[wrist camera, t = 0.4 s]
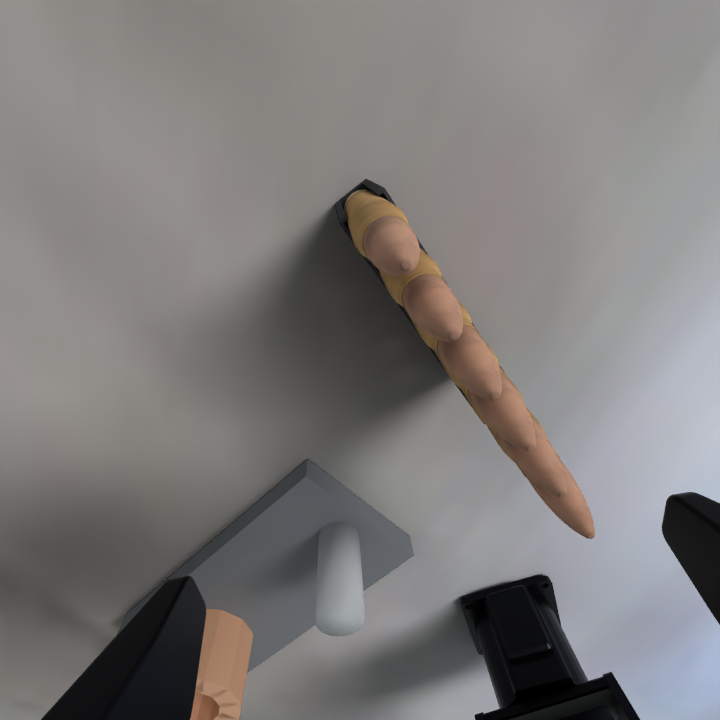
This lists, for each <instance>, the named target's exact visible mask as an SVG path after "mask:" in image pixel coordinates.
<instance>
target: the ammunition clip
mask: <svg viewBox="0 0 720 720" xmlns="http://www.w3.org/2000/svg"><path fill="white" fill-rule="evenodd" d="M335 207H336V212H337V216H338V220H339V223H340V225H341V227H342V228H343V229H344V231H345V232H346V234H347V235H348V236H349V238H350V239H351V240H352V242H353V243H354V245H355V246H356V248H357V249H358V251H359V252H360V253H361V254H362V256H363V257H364V258H365V260H366V261H367V263H368V264H369V265H370V267H371V268H372V270H373V271H374V272H375V274H376V275H377V276H378V278H379V279H380V281H381V282H382V283H383V285H384V286H385V288H386V289H387V290H388V292H389V293H390V295H391V296H392V298H393V299H394V300H395V302H396V303H397V304H398V306H399V307H400V308H401V310H402V311H403V313H404V314H405V315H406V317H407V318H408V319H409V321H410V322H411V324H412V325H413V326H414V328H415V329H416V331H417V332H418V333H419V335H420V336H421V338H422V339H423V341H424V342H425V343H426V345H427V346H428V347H429V349H430V350H431V351H432V353H433V354H434V355H435V357H436V358H437V360H438V361H439V362H440V364H441V365H442V367H443V368H444V369H445V371H446V372H447V374H448V375H449V377H450V378H451V379H452V381H453V382H454V383H455V385H456V386H457V387H458V389H459V390H460V391H461V393H462V394H463V396H464V397H465V398H466V400H467V401H468V403H469V404H470V405H471V407H472V408H473V409H474V411H475V412H476V414H477V415H478V417H479V418H480V419H481V421H482V422H483V423H484V424H486V425H487V427H488V428H489V430H490V431H491V433H492V435H493V436H494V438H495V440H496V441H497V443H498V444H499V446H500V447H501V448H502V450H503V451H504V453H505V454H506V455H507V456H508V457H510V458H511V459H512V460H513V461H514V462H515V463H516V464H517V466H518V467H519V469H520V470H521V472H522V473H523V474H524V476H525V477H526V478H527V479H528V480H529V482H530V483H531V485H532V486H533V488H534V489H535V491H536V492H537V493H538V495H539V496H540V497H541V498H542V500H543V501H544V502H545V503H546V504H547V506H548V507H549V508H550V509H551V510H552V511H553V512H554V513H555V514H556V515H557V516H558V517H559V518H560V519H561V520H562V521H563V522H564V523H565V524H567V525H568V526H569V527H570V528H571V529H573V530H574V531H576V532H577V533H579V534H580V535H582V536H584V537H586V538H589V539H592V538H593V537H594V535H595V529H594V523H593V519H592V515H591V513H590V510H589V508H588V505H587V503H586V500H585V498H584V496H583V494H582V492H581V490H580V489H579V487H578V485H577V483H576V482H575V480H574V479H573V477H572V475H571V474H570V472H569V471H568V469H567V468H566V467H565V465H564V464H563V463H562V461H561V460H560V458H559V456H558V455H557V453H556V452H555V450H554V448H553V447H552V445H551V443H550V442H549V440H548V438H547V436H546V434H545V432H544V430H543V428H542V427H541V425H540V424H539V422H538V421H537V419H536V418H535V417H534V416H533V414H532V413H531V412H530V411H529V410H528V408H527V407H526V406H525V403H524V401H523V398H522V396H521V394H520V393H519V391H518V390H517V388H516V387H515V385H514V384H513V383H512V382H511V380H510V379H509V378H508V377H507V376H506V374H505V372H504V371H503V369H502V368H501V366H500V365H499V363H498V360H497V357H496V356H495V354H494V352H493V351H492V349H491V348H490V347H489V346H488V344H487V343H486V342H485V341H484V340H483V339H482V337H481V336H480V334H479V332H478V331H477V329H476V328H475V326H474V325H473V323H472V321H471V318H470V315H469V314H468V312H467V311H466V309H465V308H464V306H463V305H462V304H461V303H460V302H459V301H458V300H457V299H456V297H455V295H454V294H453V292H452V291H451V289H450V288H449V286H448V285H447V283H446V282H445V280H444V279H443V277H442V276H441V271H440V269H439V267H438V266H437V264H436V263H435V261H434V260H433V259H432V258H431V257H429V256H428V254H427V252H426V251H425V249H424V248H423V246H422V245H421V243H420V242H419V240H418V239H417V237H416V235H415V234H414V232H413V231H412V229H411V227H410V226H409V224H408V220H407V218H406V216H405V215H404V213H403V212H402V210H401V209H399V208H398V207H397V206H396V205H395V203H394V202H393V200H392V199H391V197H390V196H389V194H388V192H387V191H386V189H385V188H384V187H382V186H380V185H378V184H376V183H373V182H371V181H369V180H367V179H365V180H364V181H363V182H361V183H360V184H359V185H358V186H356V187H355V188H354V189H353V190H351V191H350V192H349V193H348V194H346V195H345V196H344V197H343V198H341V199H340V200H339V201H338V202H336V203H335Z"/></svg>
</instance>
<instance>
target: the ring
mask: <svg viewBox="0 0 720 720" xmlns="http://www.w3.org/2000/svg"><path fill="white" fill-rule="evenodd" d="M252 639H253V633H252V631H251V630H250V629H249V627H248V626H247V624H246V623H245V622H244V620H243V619H241V618H239V617H236V616H234V615H232V614H230V613H228V612H225V611H223V610H217V609H206V621H205V628H204V635H203V642H202V648H201V655H200V662H199V669H198V676H197V683H196V690H195V697H194V703H193V709H192V714H191V718H190V720H238V719H239V717H240V711H241V705H242V699H243V693H244V688H245V682H246V676H247V670H248V664H249V658H250V653H251V646H252Z"/></svg>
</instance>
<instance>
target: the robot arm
mask: <svg viewBox="0 0 720 720" xmlns="http://www.w3.org/2000/svg"><path fill="white" fill-rule="evenodd" d="M662 532H663V535H664V538H665V540H666V542H667V544H668V545H669V547H670V548H671V550H672V551H673V553H674V555H675V556H676V558H677V559H678V561H679V562H680V564H681V565H682V567H683V569H684V570H685V572H686V573H687V575H688V576H689V578H690V580H691V581H692V583H693V584H694V586H695V587H696V589H697V591H698V592H699V594H700V595H701V597H702V598H703V600H704V601H705V603H706V605H707V606H708V608H709V609H710V611H711V612H712V614H713V615H714V617H715V618H716V620H717V621H718V623H719V624H720V503H718V502H716V501H713V500H711V499H709V498H707V497H704V496H702V495H700V494H697V493H694V492H686V493H680V494H674V495H671V496H669V497H668V499H667V501H666V506H665V512H664V518H663V523H662ZM460 604H461V607H462V610H463V613H464V616H465V619H466V621H467V624H468V627H469V629H470V632H471V635H472V638H473V640H474V643H475V646H476V649H477V651H478V653H479V654H481V655H483V656H484V659H485V662H486V665H487V669H488V672H489V675H490V678H491V682H492V685H493V688H494V691H495V694H496V698H497V701H498V704H499V707H500V709H498V710H495V711H492V712H489V713H485V714H484V713H483V712H482V713H479V714H476V715H475V720H640V719H639V717H638V715H637V714H636V712H635V710H634V709H633V707H632V705H631V704H630V702H629V700H628V699H627V697H626V695H625V694H624V692H623V690H622V689H621V687H620V685H619V684H618V682H617V680H616V679H615V677H614V675H613V674H612V672H609V673H606V674H603V677H600V678H597V679H594V680H591V681H588V679H587V677H586V675H585V673H584V672H583V670H582V668H581V666H580V664H579V662H578V660H577V658H576V656H575V654H574V652H573V650H572V648H571V646H570V644H569V642H568V640H567V638H566V636H565V634H564V632H563V630H562V628H561V623H560V619H559V614H558V609H557V604H556V600H555V595H554V590H553V585H552V582H551V580H550V579H549V577H548V576H539V577H536V578H532V579H528V580H525V581H521V582H518V583H514V584H511V585H507V586H503V587H500V588H496V589H493V590H489V591H486V592H482V593H478V594H475V595H471V596H468V597H465V598H463V599H461V601H460ZM205 621H206V605H205V602H204V599H203V597H202V595H201V593H200V591H199V589H198V587H197V585H196V583H195V581H194V579H193V578H192V577H191V576H188V575H186V576H180V577H174V578H170V579H168V580H167V581H166V582H165V583H164V584H163V585H162V586H161V587H160V588H159V589H158V590H157V591H156V592H155V594H154V595H153V596H152V597H151V598H150V599H149V600H148V601H147V602H146V604H145V605H144V606H143V607H142V608H141V609H140V610H139V611H138V612H137V614H136V615H135V616H134V617H133V618H132V619H131V620H130V621H129V622H128V624H127V625H126V626H125V627H124V628H123V629H122V630H121V631H120V632H119V634H118V635H117V636H116V637H115V638H114V639H113V640H112V641H111V642H110V644H109V645H108V646H107V647H106V648H105V649H104V650H103V651H102V652H101V654H100V655H99V656H98V657H97V658H96V659H95V660H94V661H93V662H92V663H91V665H90V666H89V667H88V668H87V669H86V670H85V671H84V672H83V673H82V675H81V676H80V677H79V678H78V679H77V680H76V681H75V682H74V683H73V685H72V686H71V687H70V688H69V689H68V690H67V691H66V692H65V693H64V695H63V696H62V697H61V698H60V699H59V700H58V701H57V702H56V703H55V705H54V706H53V707H52V708H51V709H50V710H49V711H48V712H47V713H46V715H45V716H44V717H43V718H42V719H41V720H190V718H191V714H192V709H193V703H194V697H195V690H196V683H197V676H198V669H199V662H200V655H201V648H202V642H203V635H204V628H205Z"/></svg>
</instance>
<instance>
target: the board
mask: <svg viewBox="0 0 720 720" xmlns="http://www.w3.org/2000/svg"><path fill="white" fill-rule="evenodd" d="M412 556H414V554H413V549H412V545H411V540H410V536H409V535H408V534H406V533H405V532H404V531H403V530H401V529H400V528H399V527H397V526H396V525H395V524H393V523H392V522H391V521H389V520H388V519H387V518H385V517H384V516H383V515H381V514H380V513H379V512H377V511H376V510H375V509H374V508H372V507H371V506H370V505H368V504H367V503H366V502H364V501H363V500H362V499H360V498H359V497H358V496H356V495H355V494H354V493H352V492H351V491H350V490H348V489H347V488H346V487H345V486H343V485H342V484H341V483H339V482H338V481H337V480H335V479H334V478H333V477H331V476H330V475H329V474H327V473H326V472H325V471H323V470H322V469H321V468H320V467H318V466H317V465H316V464H314V463H313V462H312V461H310V460H309V459H307V460H306V461H304V462H303V463H302V464H301V465H300V466H299V467H297V468H296V469H295V470H294V471H293V472H292V473H290V474H289V475H288V476H287V477H286V478H285V479H283V480H282V481H281V482H280V483H279V484H278V485H276V486H275V487H274V488H273V489H272V490H271V491H269V492H268V493H267V494H266V495H265V496H263V497H262V498H261V499H260V500H259V501H258V502H256V503H255V504H254V505H253V506H252V507H251V508H249V509H248V510H247V511H246V512H245V513H244V514H242V515H241V516H240V517H239V518H238V519H237V520H235V521H234V522H233V523H232V524H231V525H230V526H228V527H227V528H226V529H225V530H224V531H223V532H221V533H220V534H219V535H218V536H217V537H216V538H214V539H213V540H212V541H211V542H210V543H209V544H207V545H206V546H205V547H204V548H203V549H202V550H200V551H199V552H198V553H197V554H196V555H195V556H193V557H192V558H191V559H190V560H189V561H188V562H186V563H185V564H184V565H183V566H182V567H181V568H179V569H178V570H177V571H176V572H175V573H174V574H172V575H171V576H170V577H169V578H168V579H170V578H174V577H180V576H186V575H188V576H191V577H192V578H193V579H194V581H195V583H196V585H197V587H198V589H199V591H200V593H201V595H202V597H203V599H204V602H205V605H206V609H217V610H223V611H225V612H228V613H230V614H232V615H234V616H236V617H239V618H241V619H243V620H244V622H245V623H246V624H247V626H248V627H249V629H250V630H251V631H252V633H253V639H252V646H251V653H250V658H249V664H248V670H247V673H248V672H249V671H251V670H252V669H254V668H255V667H256V666H258V665H259V664H261V663H262V662H263V661H265V660H266V659H268V658H269V657H271V656H272V655H273V654H275V653H276V652H278V651H279V650H280V649H282V648H283V647H285V646H286V645H288V644H289V643H290V642H292V641H293V640H295V639H296V638H297V637H299V636H300V635H302V634H303V633H305V632H306V631H307V630H309V629H310V628H312V627H313V626H314V625H316V626H317V628H318V629H319V630H320V631H322V632H323V633H325V634H328V635H332V636H346V635H350V634H353V633H355V632H356V631H358V630H359V629H360V628H362V626H363V625H364V623H365V609H364V595H363V591H364V590H365V589H367V588H368V587H370V586H371V585H373V584H374V583H375V582H377V581H378V580H380V579H381V578H382V577H384V576H385V575H387V574H388V573H390V572H391V571H392V570H394V569H395V568H397V567H398V566H399V565H401V564H402V563H404V562H405V561H407V560H408V559H409V558H411V557H412ZM168 579H167V580H168ZM167 580H165V581H164V582H163V583H162V584H161V585H160V586H158V587H157V588H156V589H155V590H154V591H153V592H151V593H150V594H149V595H148V596H147V597H146V598H144V599H143V600H142V601H141V602H140V603H139V604H137V605H136V606H135V607H134V608H133V609H132V610H130V611H129V612H128V613H127V614H126V616H125V619H124V621H123V623H122V625H121V627H120V629H119V631H118V634H119V632H120V631H121V630H122V629H123V628H124V627H125V626H126V625H127V624H128V622H129V621H130V620H131V619H132V618H133V617H134V616H135V615H136V614H137V612H138V611H139V610H140V609H141V608H142V607H143V606H144V605H145V604H146V602H147V601H148V600H149V599H150V598H151V597H152V596H153V595H154V594H155V592H156V591H157V590H158V589H159V588H160V587H161V586H162V585H163V584H164V583H165V582H166V581H167ZM118 634H117V635H118Z"/></svg>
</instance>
